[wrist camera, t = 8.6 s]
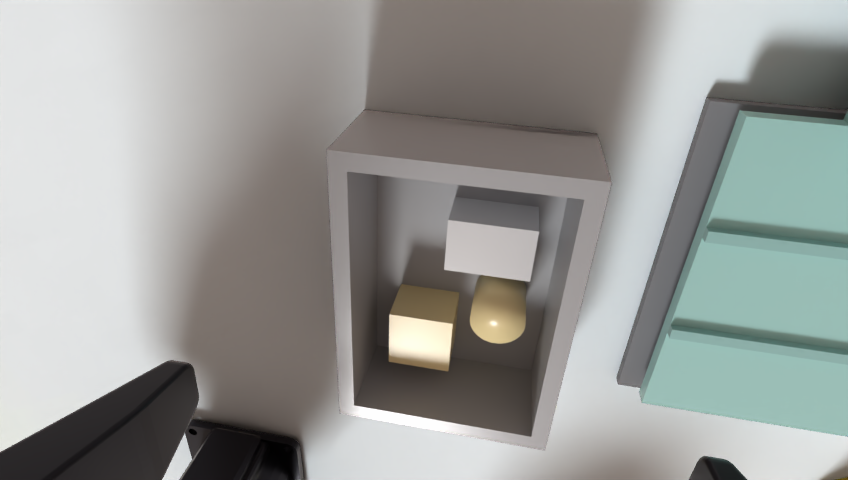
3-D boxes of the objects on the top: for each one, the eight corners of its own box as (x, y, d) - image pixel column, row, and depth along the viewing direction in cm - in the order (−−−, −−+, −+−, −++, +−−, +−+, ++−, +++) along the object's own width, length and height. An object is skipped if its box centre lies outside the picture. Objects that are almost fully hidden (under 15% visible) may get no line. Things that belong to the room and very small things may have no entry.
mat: (872, 418, 21) (878, 426, 21) (616, 377, 23) (617, 384, 22) (1074, 130, 15) (1086, 135, 15) (706, 97, 16) (710, 100, 16)
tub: (543, 374, 23) (544, 450, 20) (366, 345, 24) (339, 413, 21) (597, 133, 18) (611, 182, 14) (364, 109, 19) (326, 149, 15)
